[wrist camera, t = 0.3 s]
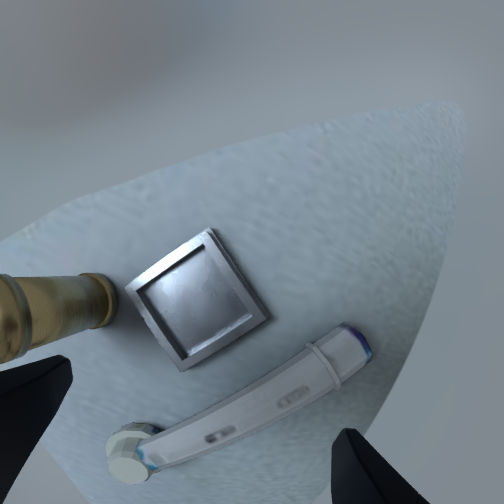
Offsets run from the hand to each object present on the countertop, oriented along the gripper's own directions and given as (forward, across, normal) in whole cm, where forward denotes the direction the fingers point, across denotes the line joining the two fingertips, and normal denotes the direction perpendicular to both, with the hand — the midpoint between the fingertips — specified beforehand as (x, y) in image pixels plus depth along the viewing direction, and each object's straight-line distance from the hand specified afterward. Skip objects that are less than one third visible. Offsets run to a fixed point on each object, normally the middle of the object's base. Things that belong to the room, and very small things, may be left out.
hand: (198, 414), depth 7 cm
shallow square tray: (+15, +3, +4) cm, 16 cm away
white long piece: (+13, -1, +12) cm, 18 cm away
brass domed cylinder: (+14, +12, +6) cm, 20 cm away
